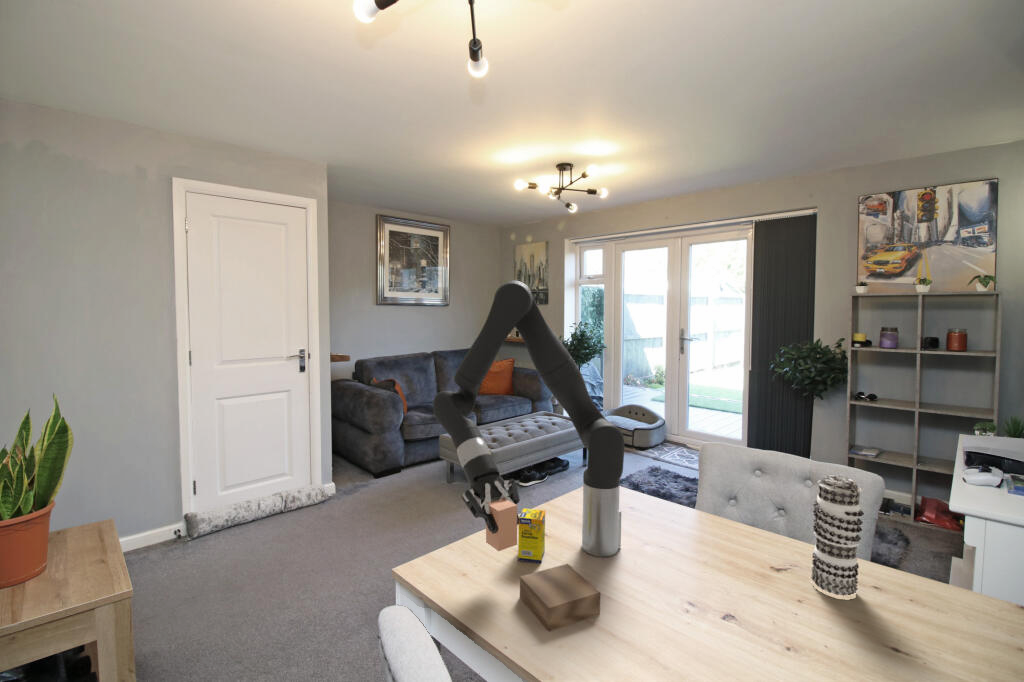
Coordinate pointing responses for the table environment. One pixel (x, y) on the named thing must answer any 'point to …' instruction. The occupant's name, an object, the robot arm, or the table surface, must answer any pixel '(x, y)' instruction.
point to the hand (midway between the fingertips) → (506, 528)
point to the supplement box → (531, 535)
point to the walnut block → (559, 596)
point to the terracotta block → (503, 525)
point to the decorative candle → (836, 535)
